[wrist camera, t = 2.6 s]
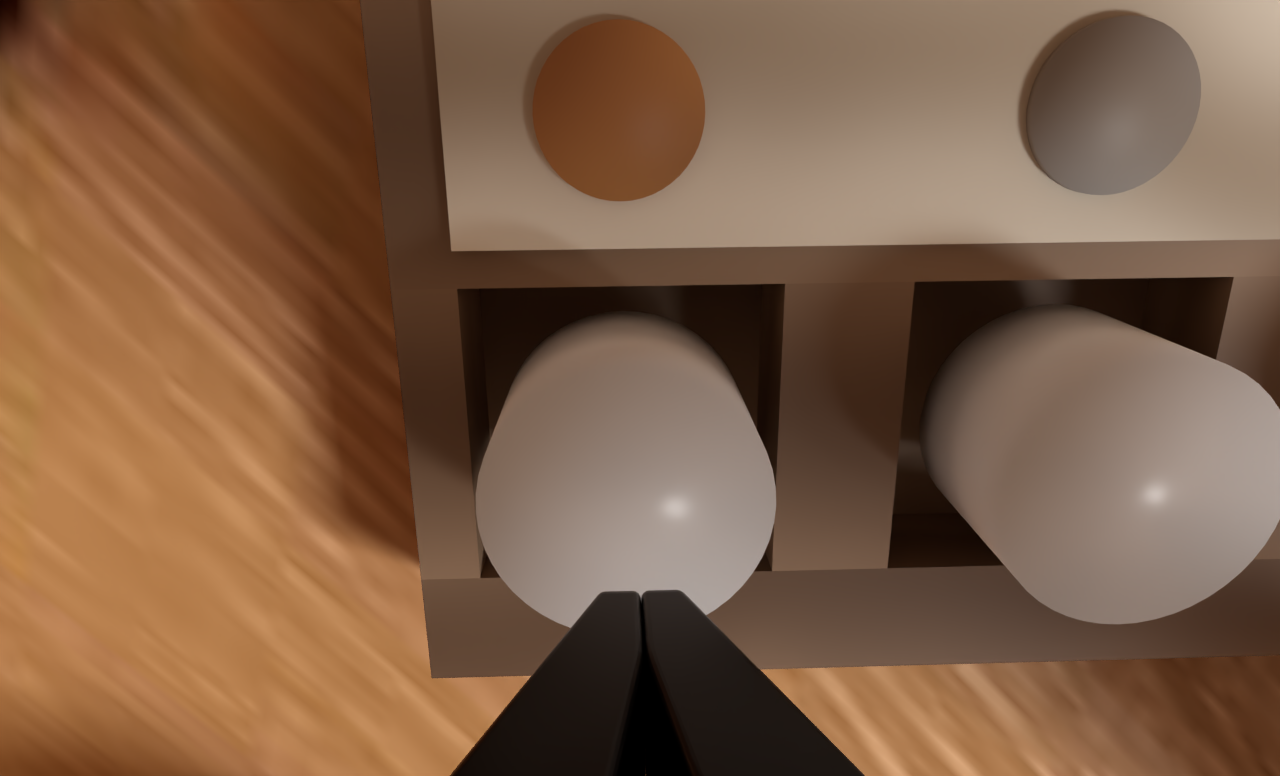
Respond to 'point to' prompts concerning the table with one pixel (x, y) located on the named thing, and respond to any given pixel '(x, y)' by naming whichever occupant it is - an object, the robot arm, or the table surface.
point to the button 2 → (624, 470)
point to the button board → (820, 268)
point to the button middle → (1104, 461)
